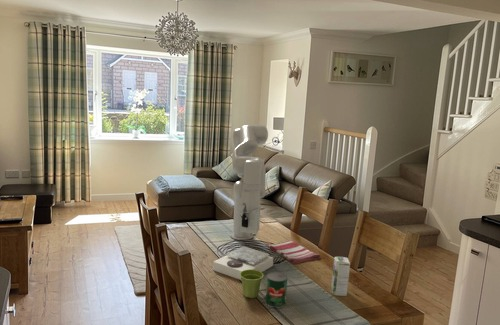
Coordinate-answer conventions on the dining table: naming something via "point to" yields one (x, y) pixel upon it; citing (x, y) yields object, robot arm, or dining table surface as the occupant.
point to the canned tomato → (276, 289)
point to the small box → (251, 222)
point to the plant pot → (251, 282)
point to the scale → (239, 266)
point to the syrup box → (340, 276)
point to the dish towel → (293, 252)
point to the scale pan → (248, 255)
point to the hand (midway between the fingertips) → (249, 224)
